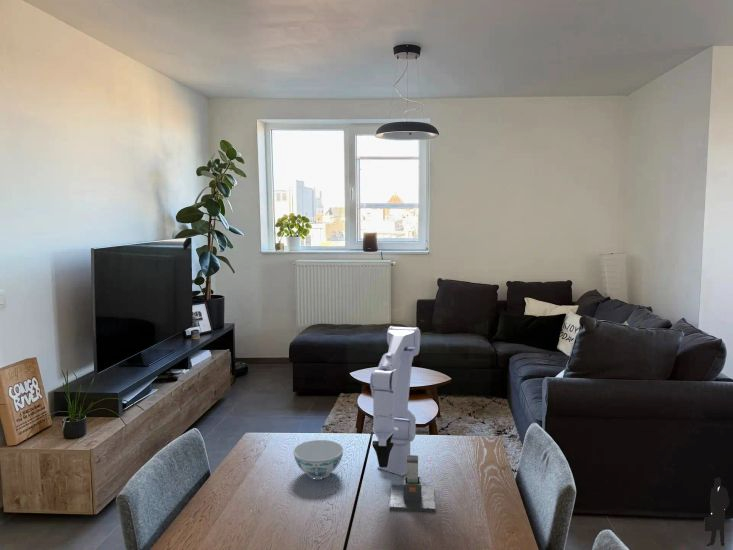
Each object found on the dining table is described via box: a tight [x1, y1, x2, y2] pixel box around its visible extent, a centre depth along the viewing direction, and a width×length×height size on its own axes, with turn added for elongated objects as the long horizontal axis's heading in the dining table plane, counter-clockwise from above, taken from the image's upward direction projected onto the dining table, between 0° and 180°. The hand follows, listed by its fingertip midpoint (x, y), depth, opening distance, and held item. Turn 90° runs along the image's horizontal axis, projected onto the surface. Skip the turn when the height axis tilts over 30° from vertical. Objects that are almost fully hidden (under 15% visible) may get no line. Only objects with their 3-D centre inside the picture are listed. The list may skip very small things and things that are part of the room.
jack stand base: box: [389, 475, 436, 513], centre depth 145 cm, size 12×12×6 cm
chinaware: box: [293, 439, 344, 480], centre depth 160 cm, size 15×15×8 cm
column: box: [406, 454, 419, 484], centre depth 144 cm, size 3×3×8 cm
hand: (383, 460), depth 147 cm, fingers open, 7 cm apart
